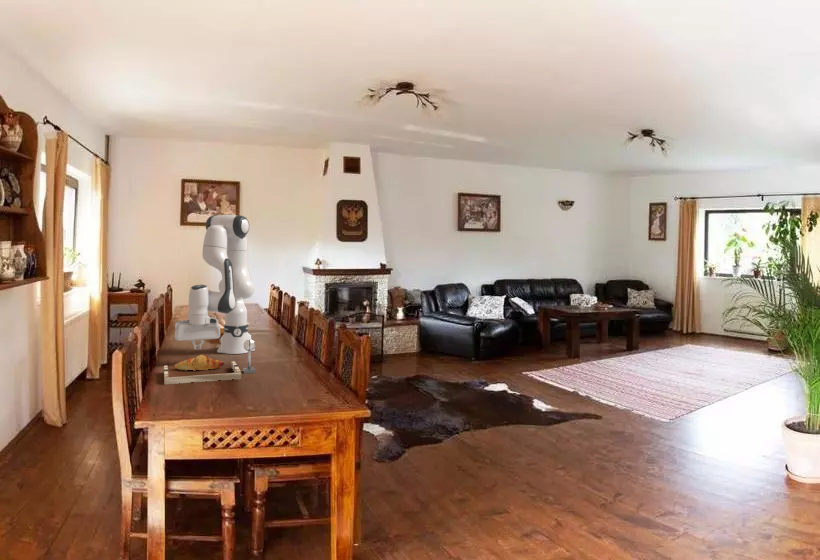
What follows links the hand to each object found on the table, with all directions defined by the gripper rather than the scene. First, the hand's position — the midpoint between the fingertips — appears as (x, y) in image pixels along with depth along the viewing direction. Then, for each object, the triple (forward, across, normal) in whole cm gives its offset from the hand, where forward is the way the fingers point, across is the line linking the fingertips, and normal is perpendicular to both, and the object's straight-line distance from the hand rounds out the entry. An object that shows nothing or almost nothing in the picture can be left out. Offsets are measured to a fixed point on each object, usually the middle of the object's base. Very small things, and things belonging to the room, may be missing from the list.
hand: (197, 349), depth 271 cm
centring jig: (+7, -5, -23) cm, 24 cm away
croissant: (+8, -2, -10) cm, 13 cm away
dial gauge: (+7, +14, -28) cm, 32 cm away
